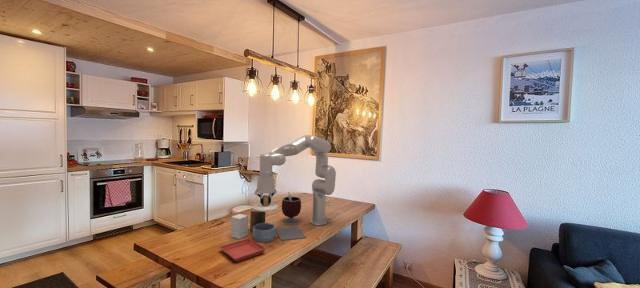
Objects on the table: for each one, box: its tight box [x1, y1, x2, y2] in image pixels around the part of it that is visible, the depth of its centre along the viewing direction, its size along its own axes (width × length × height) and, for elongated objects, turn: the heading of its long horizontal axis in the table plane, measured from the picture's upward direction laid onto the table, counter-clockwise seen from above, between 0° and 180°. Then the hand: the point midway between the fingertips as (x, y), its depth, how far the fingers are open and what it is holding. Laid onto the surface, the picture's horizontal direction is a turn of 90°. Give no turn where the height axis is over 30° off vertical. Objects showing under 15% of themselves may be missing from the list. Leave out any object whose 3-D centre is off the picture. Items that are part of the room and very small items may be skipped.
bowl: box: [252, 222, 277, 243], centre depth 163 cm, size 13×13×7 cm
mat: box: [276, 225, 308, 242], centre depth 172 cm, size 16×20×1 cm
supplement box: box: [230, 213, 249, 240], centre depth 164 cm, size 7×7×13 cm
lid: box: [252, 194, 279, 213], centre depth 162 cm, size 15×15×8 cm
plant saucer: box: [219, 238, 266, 263], centre depth 143 cm, size 18×18×3 cm
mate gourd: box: [281, 191, 302, 226], centre depth 193 cm, size 16×14×20 cm
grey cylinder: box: [249, 208, 266, 233], centre depth 175 cm, size 10×10×15 cm
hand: (265, 203), depth 162 cm, fingers closed on lid, 3 cm apart
